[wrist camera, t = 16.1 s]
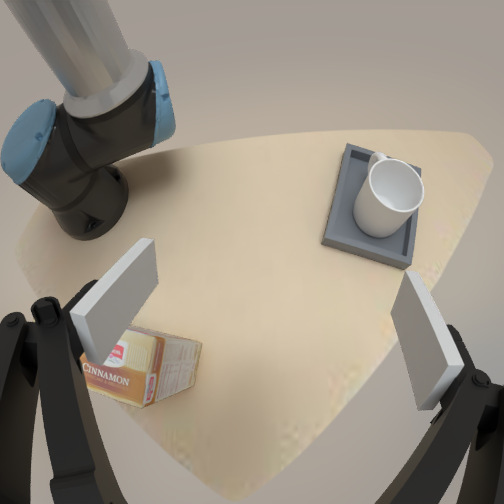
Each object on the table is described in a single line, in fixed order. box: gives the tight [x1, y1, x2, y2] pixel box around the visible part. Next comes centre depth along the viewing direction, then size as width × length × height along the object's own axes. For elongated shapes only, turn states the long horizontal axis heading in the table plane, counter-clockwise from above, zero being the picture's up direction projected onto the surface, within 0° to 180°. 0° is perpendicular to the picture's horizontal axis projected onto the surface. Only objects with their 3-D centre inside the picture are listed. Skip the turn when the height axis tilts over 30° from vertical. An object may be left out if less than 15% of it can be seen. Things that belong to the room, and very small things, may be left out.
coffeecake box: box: [33, 309, 202, 409], centre depth 34 cm, size 15×7×20 cm, turn 80°
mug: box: [353, 152, 424, 238], centre depth 43 cm, size 12×8×10 cm
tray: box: [322, 143, 421, 270], centre depth 47 cm, size 14×18×3 cm
